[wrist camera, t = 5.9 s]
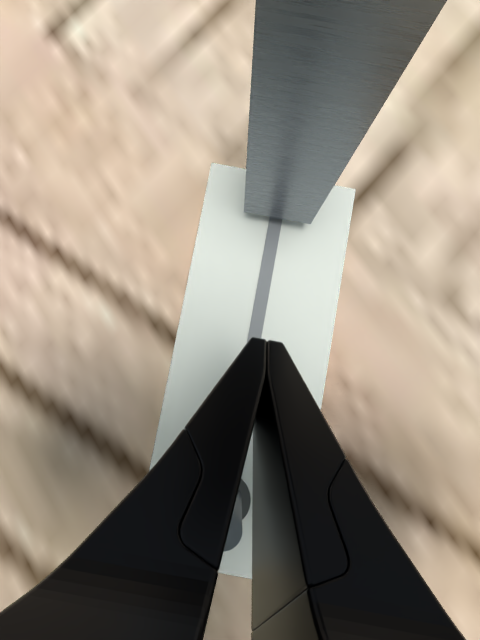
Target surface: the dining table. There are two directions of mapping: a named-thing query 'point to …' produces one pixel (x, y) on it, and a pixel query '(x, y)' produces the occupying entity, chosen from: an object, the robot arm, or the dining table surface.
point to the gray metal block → (320, 92)
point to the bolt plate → (252, 313)
